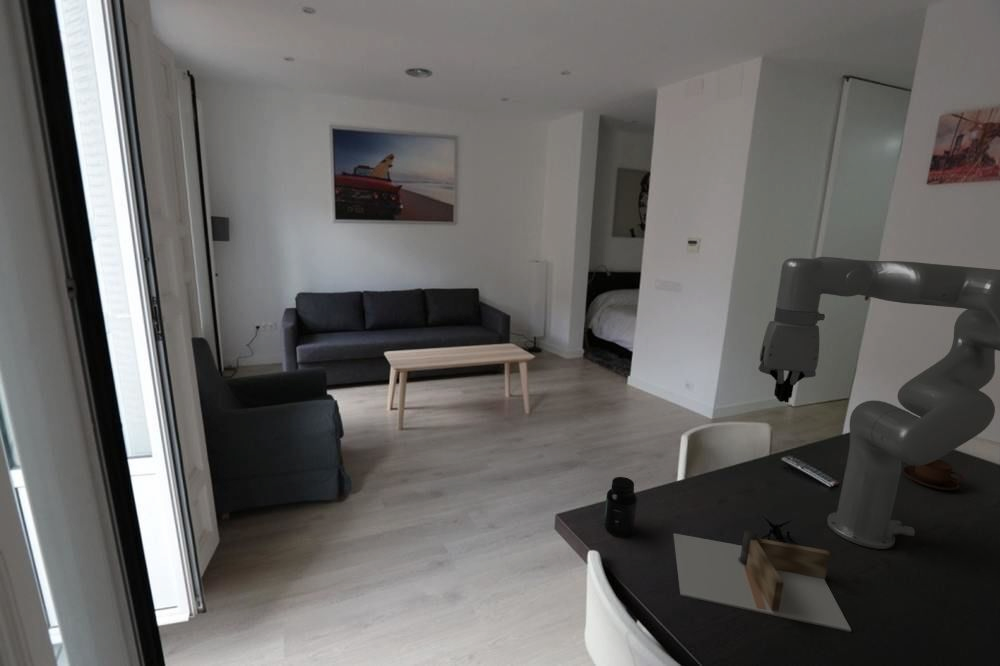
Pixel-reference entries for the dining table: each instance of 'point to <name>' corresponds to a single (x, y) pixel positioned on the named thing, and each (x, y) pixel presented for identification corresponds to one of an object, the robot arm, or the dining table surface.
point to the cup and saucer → (934, 475)
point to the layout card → (750, 584)
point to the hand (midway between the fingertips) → (782, 399)
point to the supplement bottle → (621, 508)
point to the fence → (789, 556)
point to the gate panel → (765, 575)
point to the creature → (778, 532)
